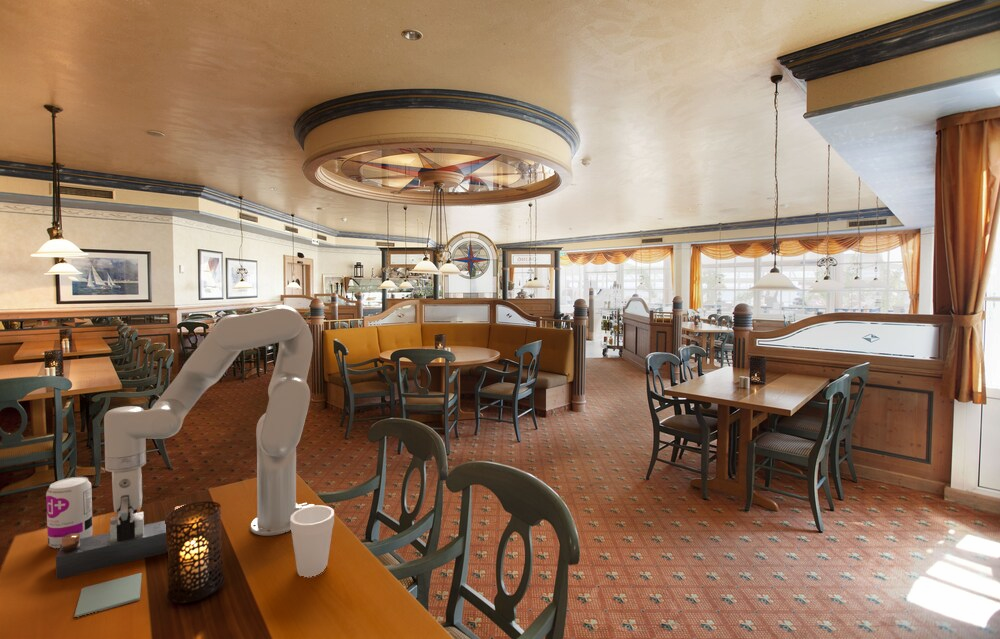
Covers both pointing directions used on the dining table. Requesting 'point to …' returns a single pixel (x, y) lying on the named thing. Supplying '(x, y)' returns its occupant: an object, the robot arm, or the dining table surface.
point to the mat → (109, 594)
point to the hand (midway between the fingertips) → (127, 530)
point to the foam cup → (312, 538)
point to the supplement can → (69, 509)
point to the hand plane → (108, 550)
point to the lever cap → (138, 526)
